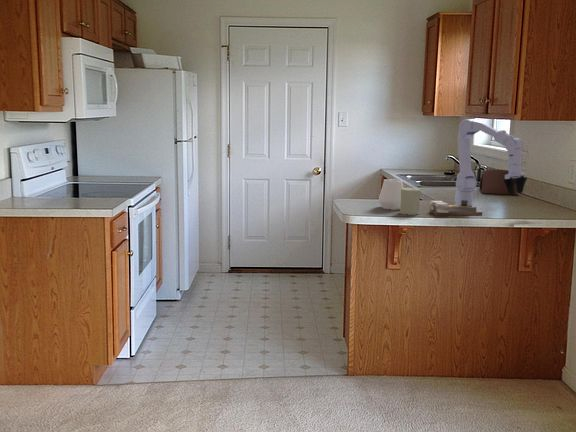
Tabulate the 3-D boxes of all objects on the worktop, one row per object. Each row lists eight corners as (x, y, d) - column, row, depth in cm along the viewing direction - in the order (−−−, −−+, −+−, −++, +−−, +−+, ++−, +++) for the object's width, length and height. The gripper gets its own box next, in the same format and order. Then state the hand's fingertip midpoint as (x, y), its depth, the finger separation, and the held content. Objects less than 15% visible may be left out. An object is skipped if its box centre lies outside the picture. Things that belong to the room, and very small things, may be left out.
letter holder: (516, 194, 372) (519, 170, 370) (481, 193, 375) (483, 169, 373) (513, 192, 382) (515, 168, 379) (479, 191, 385) (480, 167, 382)
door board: (429, 212, 310) (430, 200, 309) (472, 211, 314) (473, 200, 313) (438, 215, 301) (438, 204, 300) (482, 215, 304) (483, 203, 303)
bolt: (445, 209, 308) (446, 200, 307) (465, 209, 309) (466, 199, 309) (448, 210, 305) (448, 201, 304) (468, 210, 307) (468, 200, 306)
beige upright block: (406, 215, 301) (408, 189, 298) (395, 211, 309) (397, 187, 307) (423, 214, 304) (424, 189, 302) (412, 210, 312) (413, 186, 310)
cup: (402, 211, 311) (404, 182, 308) (375, 209, 315) (376, 180, 313) (407, 207, 323) (409, 179, 321) (381, 204, 328) (382, 177, 325)
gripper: (514, 164, 291) (515, 194, 292) (531, 163, 300) (531, 192, 302) (500, 165, 296) (501, 194, 298) (517, 163, 306) (517, 192, 307)
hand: (515, 193), depth 300 cm, fingers open, 7 cm apart
